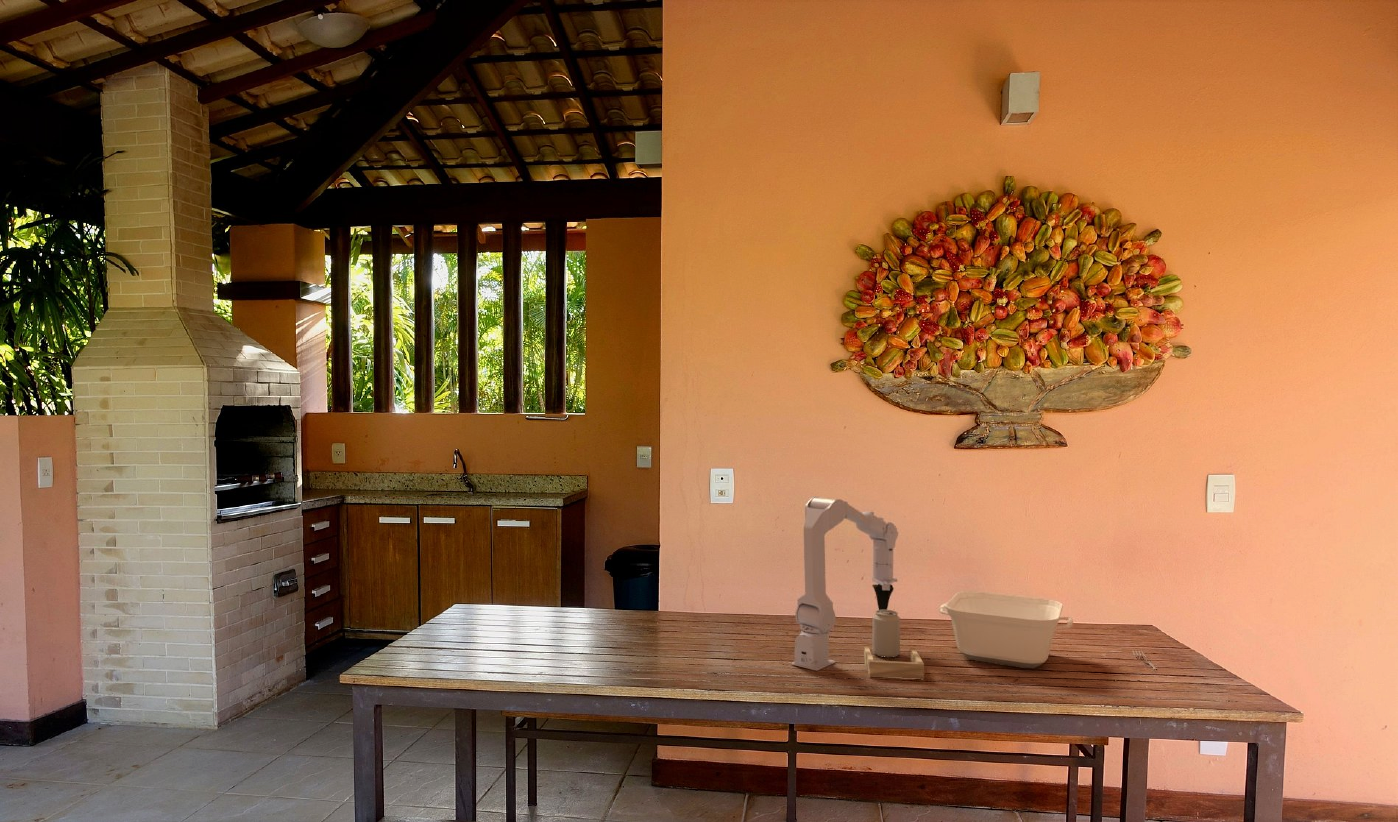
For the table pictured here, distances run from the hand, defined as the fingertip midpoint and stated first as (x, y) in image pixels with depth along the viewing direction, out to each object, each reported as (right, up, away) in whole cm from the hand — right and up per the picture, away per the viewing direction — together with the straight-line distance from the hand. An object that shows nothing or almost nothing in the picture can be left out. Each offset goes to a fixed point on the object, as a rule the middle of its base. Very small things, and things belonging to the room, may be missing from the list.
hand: (882, 610), depth 225 cm
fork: (+68, -12, -18) cm, 71 cm away
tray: (-3, -10, -22) cm, 24 cm away
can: (-1, -10, -9) cm, 14 cm away
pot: (+31, -11, -10) cm, 34 cm away
